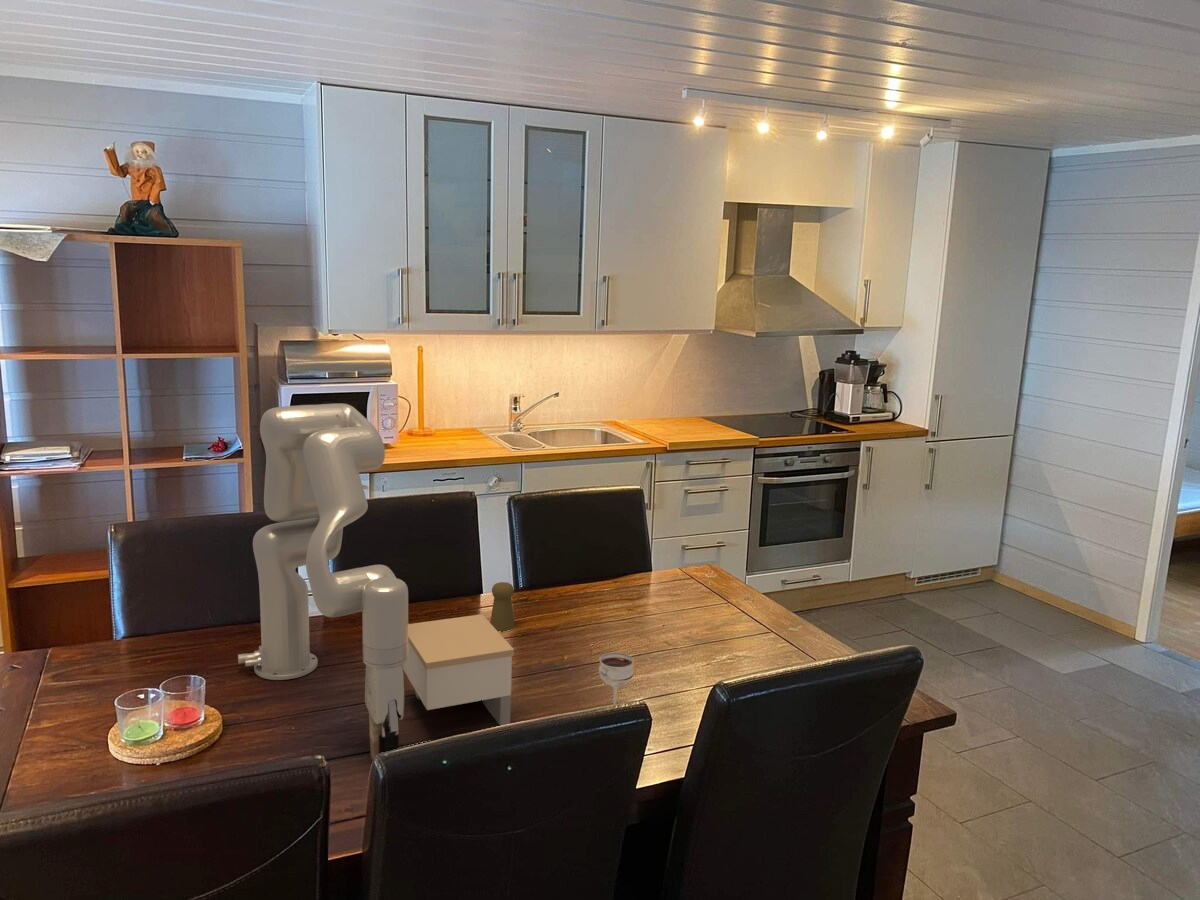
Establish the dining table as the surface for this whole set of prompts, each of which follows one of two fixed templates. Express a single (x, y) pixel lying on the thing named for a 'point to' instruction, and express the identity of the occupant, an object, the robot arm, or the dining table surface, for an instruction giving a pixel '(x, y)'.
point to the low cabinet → (460, 664)
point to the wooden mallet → (376, 736)
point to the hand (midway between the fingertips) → (386, 748)
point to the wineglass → (616, 670)
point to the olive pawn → (502, 607)
